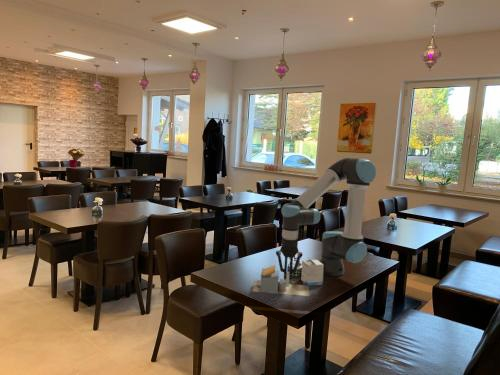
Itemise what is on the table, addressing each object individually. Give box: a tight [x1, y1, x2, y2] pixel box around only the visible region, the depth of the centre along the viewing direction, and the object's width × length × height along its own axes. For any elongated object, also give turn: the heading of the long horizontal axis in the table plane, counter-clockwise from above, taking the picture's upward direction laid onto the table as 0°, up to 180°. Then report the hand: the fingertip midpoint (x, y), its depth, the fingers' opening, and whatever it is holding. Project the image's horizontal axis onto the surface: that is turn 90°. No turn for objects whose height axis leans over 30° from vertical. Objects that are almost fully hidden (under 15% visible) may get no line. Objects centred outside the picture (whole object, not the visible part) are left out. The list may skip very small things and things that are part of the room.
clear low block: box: [256, 278, 286, 291], centre depth 180 cm, size 14×6×4 cm, turn 84°
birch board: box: [251, 280, 311, 297], centre depth 180 cm, size 27×13×1 cm, turn 84°
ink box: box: [300, 257, 324, 287], centre depth 190 cm, size 9×8×13 cm
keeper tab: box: [260, 264, 276, 278], centre depth 180 cm, size 7×10×1 cm
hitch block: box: [259, 270, 280, 294], centre depth 180 cm, size 8×12×6 cm, turn 174°
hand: (287, 285), depth 179 cm, fingers closed
